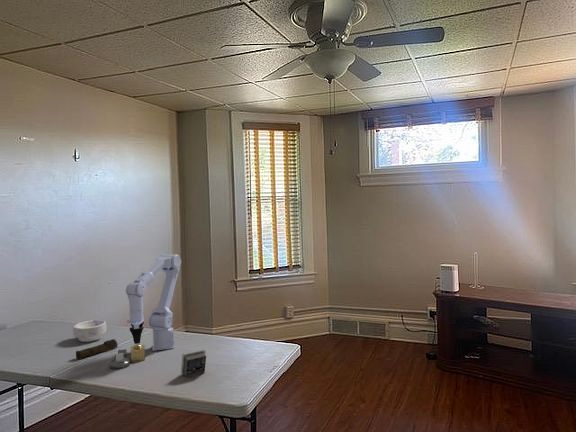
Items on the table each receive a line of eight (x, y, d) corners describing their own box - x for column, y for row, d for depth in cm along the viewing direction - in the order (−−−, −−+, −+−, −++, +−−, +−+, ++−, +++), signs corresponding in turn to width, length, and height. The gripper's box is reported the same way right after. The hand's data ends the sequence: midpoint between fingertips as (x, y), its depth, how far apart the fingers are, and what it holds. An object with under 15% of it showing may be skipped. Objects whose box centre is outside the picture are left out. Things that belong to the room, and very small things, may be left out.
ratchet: (129, 368, 178) (128, 356, 178) (109, 370, 176) (109, 358, 176) (131, 352, 198) (131, 341, 198) (113, 354, 195) (113, 343, 195)
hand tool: (79, 361, 189) (79, 350, 188) (75, 359, 191) (75, 348, 191) (120, 349, 203) (120, 339, 203) (115, 347, 206) (115, 337, 206)
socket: (145, 355, 192) (144, 342, 192) (144, 360, 187) (144, 346, 187) (131, 357, 191) (131, 344, 190) (131, 361, 185) (130, 348, 185)
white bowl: (66, 342, 215) (66, 326, 214) (91, 333, 229) (90, 318, 228) (89, 345, 209) (88, 329, 209) (113, 336, 223) (112, 321, 223)
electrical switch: (203, 369, 175) (203, 347, 174) (208, 374, 171) (208, 352, 170) (180, 374, 170) (180, 352, 169) (185, 380, 166) (185, 357, 165)
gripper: (127, 307, 194) (128, 337, 194) (125, 314, 180) (126, 347, 180) (144, 305, 196) (145, 335, 196) (143, 313, 182) (144, 345, 182)
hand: (137, 340), depth 188 cm, fingers open, 7 cm apart
